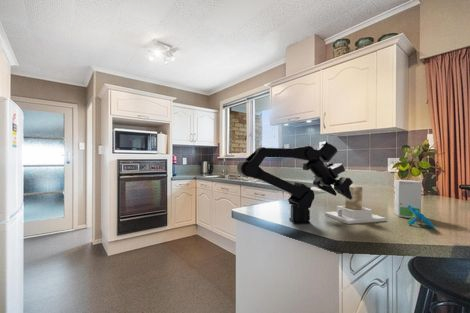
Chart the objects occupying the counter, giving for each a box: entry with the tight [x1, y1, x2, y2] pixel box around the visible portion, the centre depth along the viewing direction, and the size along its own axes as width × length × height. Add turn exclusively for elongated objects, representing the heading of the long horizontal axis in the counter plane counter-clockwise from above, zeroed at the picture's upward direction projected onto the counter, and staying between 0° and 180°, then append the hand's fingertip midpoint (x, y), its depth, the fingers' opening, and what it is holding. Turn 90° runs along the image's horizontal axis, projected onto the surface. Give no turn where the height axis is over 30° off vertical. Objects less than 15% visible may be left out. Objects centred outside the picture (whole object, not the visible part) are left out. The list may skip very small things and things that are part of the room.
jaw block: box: [344, 185, 363, 210], centre depth 96 cm, size 4×4×12 cm
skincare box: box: [393, 179, 422, 219], centre depth 99 cm, size 8×7×16 cm
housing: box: [324, 205, 387, 225], centre depth 96 cm, size 18×14×4 cm
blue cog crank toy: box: [407, 205, 435, 229], centre depth 85 cm, size 11×6×10 cm
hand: (343, 196), depth 95 cm, fingers open, 9 cm apart
